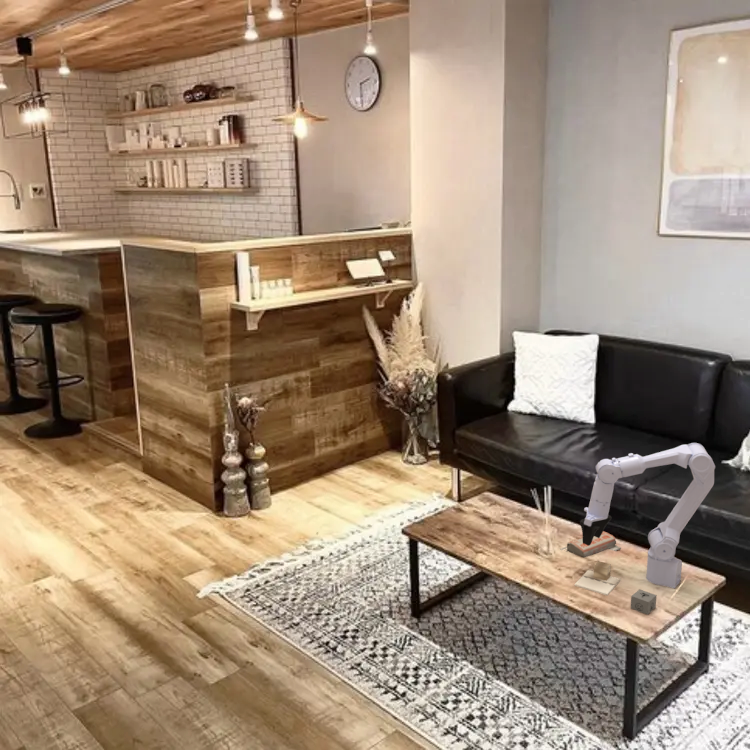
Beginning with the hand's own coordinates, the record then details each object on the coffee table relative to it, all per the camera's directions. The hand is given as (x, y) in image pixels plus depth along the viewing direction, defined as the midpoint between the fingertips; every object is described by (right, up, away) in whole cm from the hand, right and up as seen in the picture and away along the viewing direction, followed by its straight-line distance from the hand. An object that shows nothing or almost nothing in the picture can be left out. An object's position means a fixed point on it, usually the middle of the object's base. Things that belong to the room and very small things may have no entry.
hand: (591, 540), depth 232 cm
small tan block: (+3, -12, 0) cm, 12 cm away
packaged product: (+5, -8, +20) cm, 23 cm away
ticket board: (+2, -13, -1) cm, 13 cm away
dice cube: (+10, -17, -16) cm, 25 cm away
